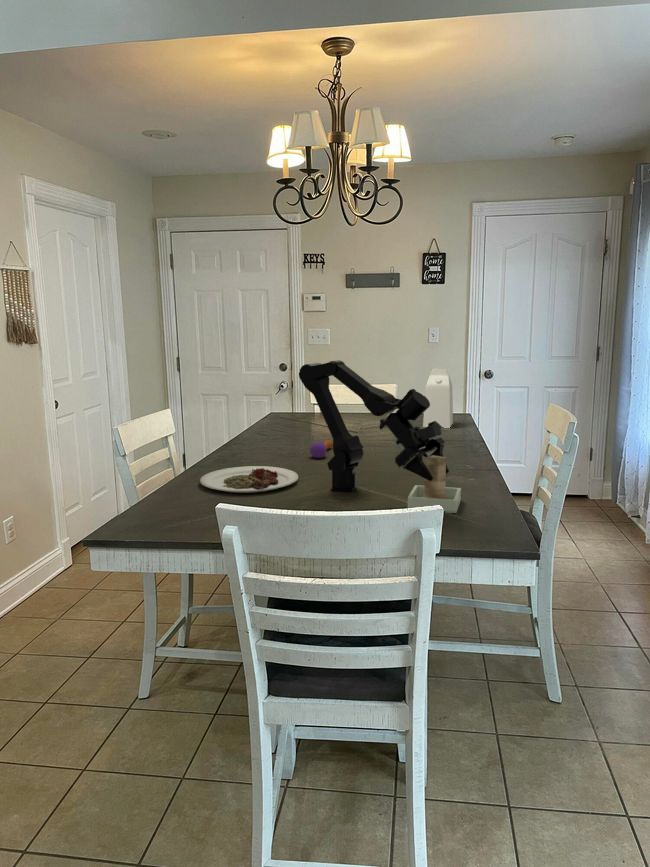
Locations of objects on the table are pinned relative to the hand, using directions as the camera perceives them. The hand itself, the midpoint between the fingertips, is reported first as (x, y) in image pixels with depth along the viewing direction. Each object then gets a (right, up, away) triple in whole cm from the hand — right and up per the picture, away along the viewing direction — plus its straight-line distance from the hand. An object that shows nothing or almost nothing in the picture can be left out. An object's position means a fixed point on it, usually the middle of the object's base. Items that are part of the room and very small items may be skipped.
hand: (440, 476), depth 173 cm
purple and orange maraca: (-31, +4, +68) cm, 75 cm away
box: (-1, -8, +2) cm, 8 cm away
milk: (+21, +14, +123) cm, 126 cm away
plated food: (-54, -4, +28) cm, 61 cm away
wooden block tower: (-1, -7, +2) cm, 8 cm away
